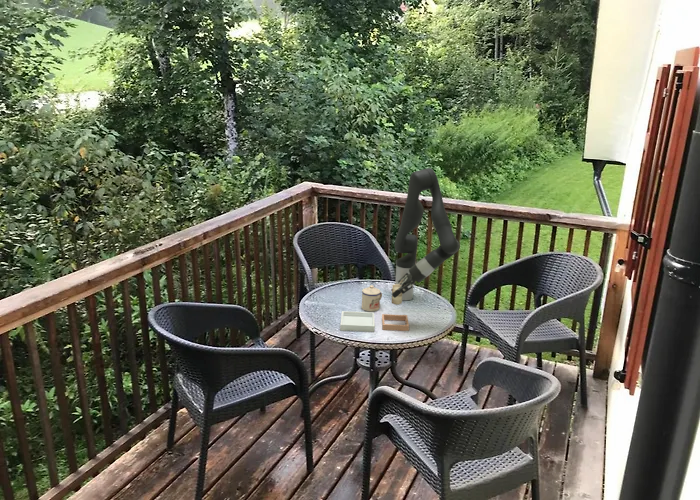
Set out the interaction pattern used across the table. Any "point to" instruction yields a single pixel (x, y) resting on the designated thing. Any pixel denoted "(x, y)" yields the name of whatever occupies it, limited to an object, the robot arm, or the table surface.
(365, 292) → the teacup with lid
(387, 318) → the orange brown tray
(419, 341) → the table surface
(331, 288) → the table surface
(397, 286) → the birch cylinder
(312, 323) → the table surface
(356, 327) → the pale green tray
